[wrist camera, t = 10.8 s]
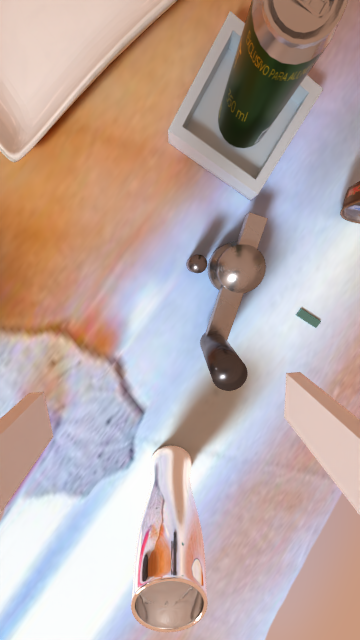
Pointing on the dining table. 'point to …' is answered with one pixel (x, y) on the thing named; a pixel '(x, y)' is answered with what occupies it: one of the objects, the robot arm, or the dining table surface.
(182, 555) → the beer glass
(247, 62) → the beer can
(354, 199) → the tin
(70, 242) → the dining table surface
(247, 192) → the tray
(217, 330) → the crank
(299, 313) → the base
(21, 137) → the square plate
